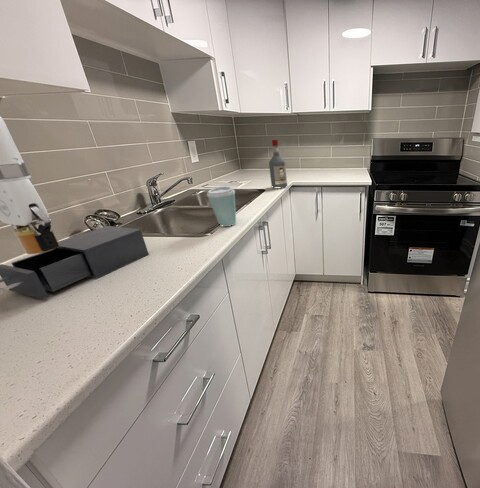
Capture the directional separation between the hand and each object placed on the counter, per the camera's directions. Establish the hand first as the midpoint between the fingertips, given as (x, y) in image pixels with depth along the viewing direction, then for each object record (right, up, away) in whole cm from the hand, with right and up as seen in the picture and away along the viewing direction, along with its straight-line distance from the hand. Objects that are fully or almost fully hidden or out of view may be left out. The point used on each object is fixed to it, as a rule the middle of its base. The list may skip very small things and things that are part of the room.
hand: (42, 247), depth 65 cm
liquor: (+39, +39, +113) cm, 126 cm away
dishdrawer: (+4, -5, +15) cm, 16 cm away
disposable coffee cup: (+29, +9, +44) cm, 54 cm away
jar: (0, 0, 0) cm, 1 cm away
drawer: (0, -10, +2) cm, 10 cm away
